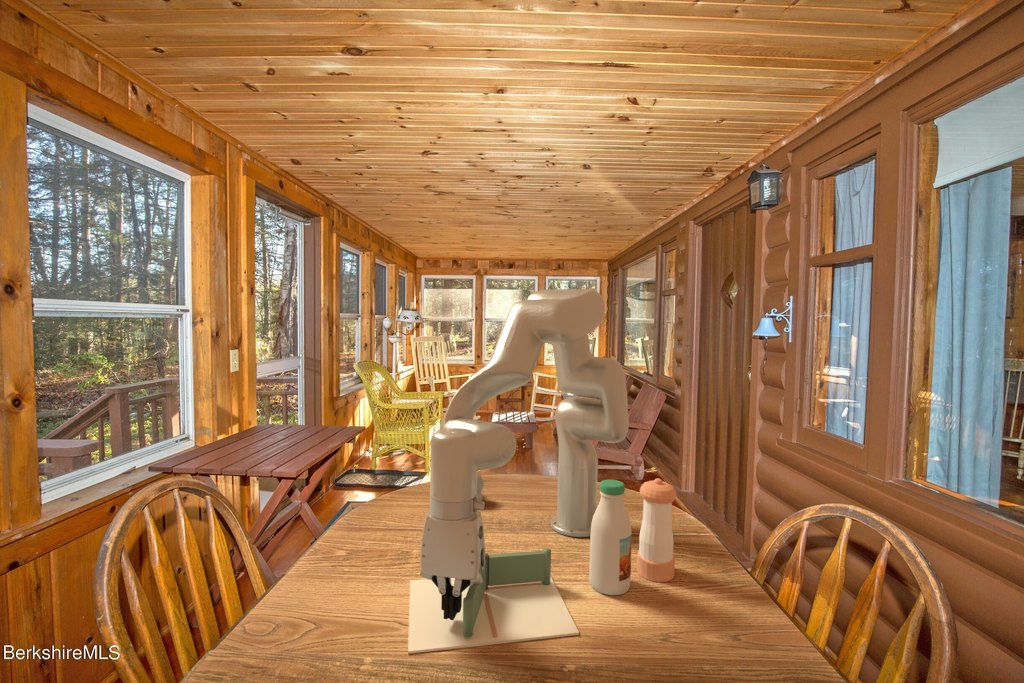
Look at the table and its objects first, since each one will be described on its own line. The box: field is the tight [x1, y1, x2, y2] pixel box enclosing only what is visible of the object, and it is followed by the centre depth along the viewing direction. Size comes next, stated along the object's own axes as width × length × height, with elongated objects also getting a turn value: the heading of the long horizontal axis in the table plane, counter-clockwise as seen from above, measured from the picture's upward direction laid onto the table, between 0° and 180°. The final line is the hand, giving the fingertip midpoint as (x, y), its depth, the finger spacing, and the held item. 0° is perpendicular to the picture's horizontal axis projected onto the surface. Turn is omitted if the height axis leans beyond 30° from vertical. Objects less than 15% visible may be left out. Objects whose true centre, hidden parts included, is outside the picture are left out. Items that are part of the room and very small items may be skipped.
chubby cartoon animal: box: [476, 472, 484, 502], centre depth 135 cm, size 7×12×8 cm, turn 8°
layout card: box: [407, 576, 580, 655], centre depth 86 cm, size 27×20×1 cm
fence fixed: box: [485, 547, 552, 590], centre depth 92 cm, size 14×2×7 cm, turn 101°
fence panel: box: [463, 561, 486, 637], centre depth 83 cm, size 13×2×6 cm, turn 173°
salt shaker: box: [636, 477, 677, 583], centre depth 98 cm, size 7×7×19 cm
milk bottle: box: [588, 479, 632, 596], centre depth 93 cm, size 8×8×20 cm
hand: (451, 614), depth 81 cm, fingers closed
